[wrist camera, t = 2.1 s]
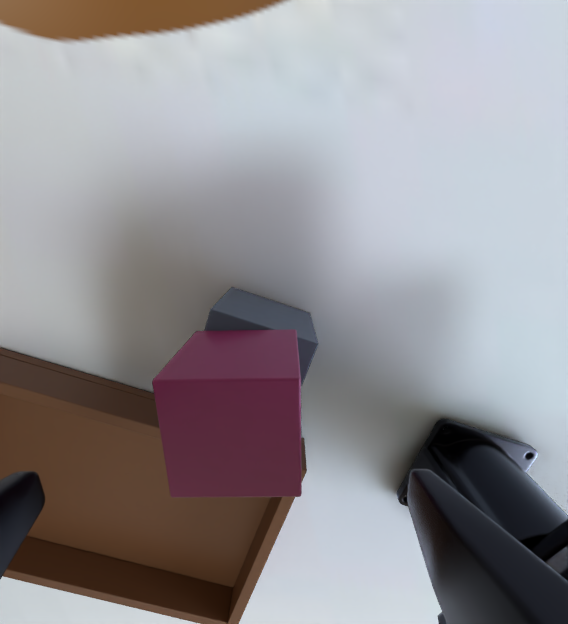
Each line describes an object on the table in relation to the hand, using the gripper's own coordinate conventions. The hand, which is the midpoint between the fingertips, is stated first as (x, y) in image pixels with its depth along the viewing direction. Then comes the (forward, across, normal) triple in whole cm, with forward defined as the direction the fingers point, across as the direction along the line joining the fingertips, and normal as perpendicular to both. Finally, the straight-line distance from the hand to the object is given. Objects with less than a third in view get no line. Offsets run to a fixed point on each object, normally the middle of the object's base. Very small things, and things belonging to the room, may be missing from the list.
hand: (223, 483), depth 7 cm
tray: (+10, +9, +10) cm, 17 cm away
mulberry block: (+5, 0, 0) cm, 5 cm away
